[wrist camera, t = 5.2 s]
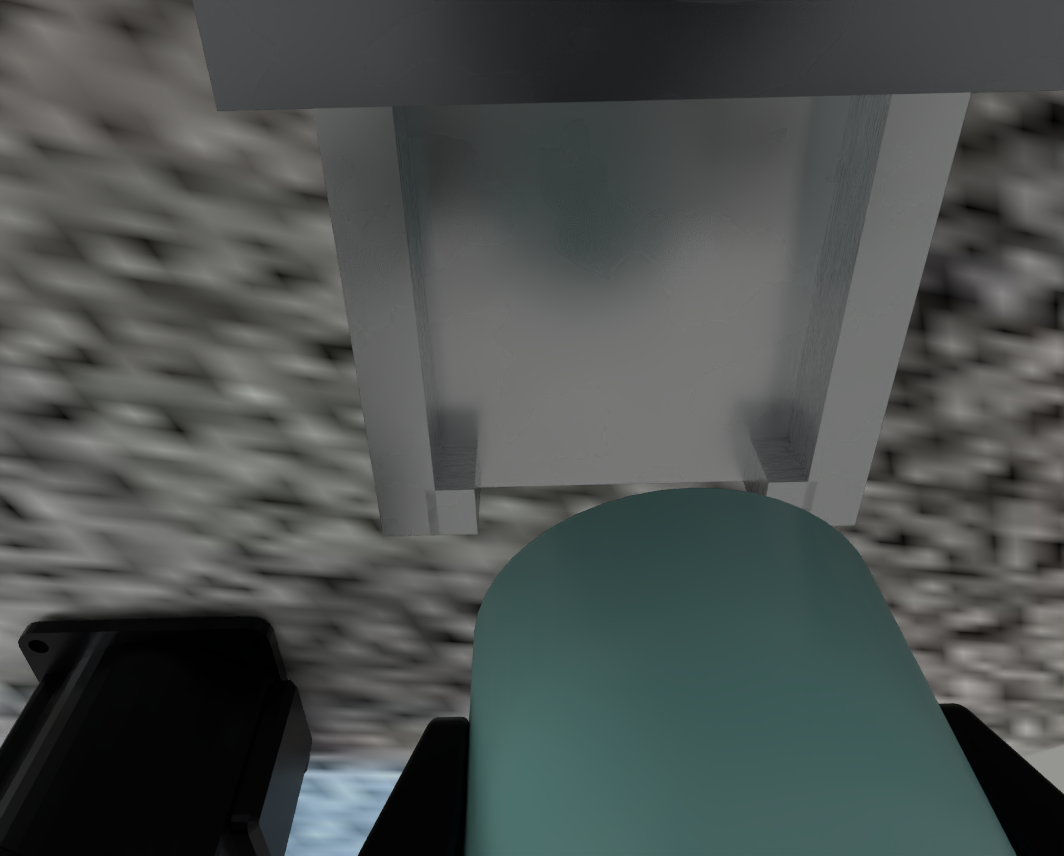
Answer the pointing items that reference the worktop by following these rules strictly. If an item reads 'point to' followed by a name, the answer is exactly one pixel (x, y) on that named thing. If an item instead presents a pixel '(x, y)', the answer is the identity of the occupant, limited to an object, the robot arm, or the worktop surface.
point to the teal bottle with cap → (706, 696)
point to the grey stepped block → (627, 224)
